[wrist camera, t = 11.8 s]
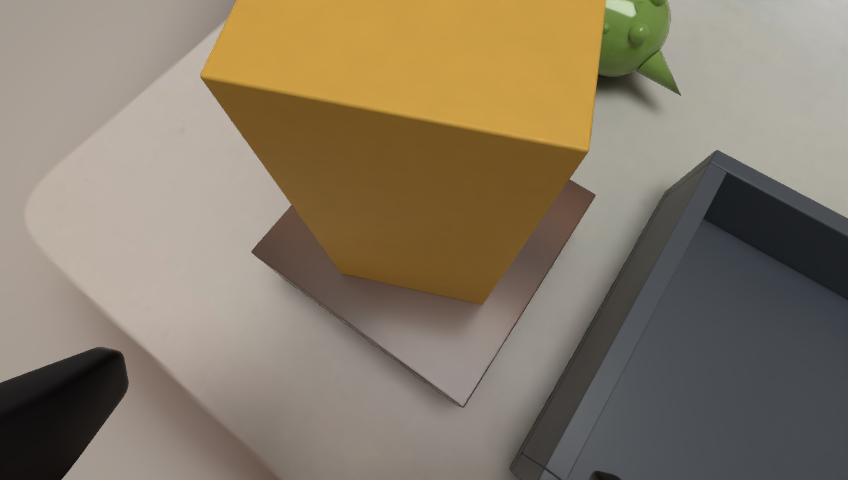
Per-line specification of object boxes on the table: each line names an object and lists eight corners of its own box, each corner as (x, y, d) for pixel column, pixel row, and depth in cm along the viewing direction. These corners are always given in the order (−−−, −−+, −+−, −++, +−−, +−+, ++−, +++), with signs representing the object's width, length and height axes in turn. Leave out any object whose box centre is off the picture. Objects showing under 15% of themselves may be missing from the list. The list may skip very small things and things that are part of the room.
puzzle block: (483, 305, 16) (590, 151, 6) (340, 273, 16) (197, 76, 6) (506, 175, 18) (621, -122, 8) (377, 149, 18) (316, -165, 8)
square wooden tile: (455, 404, 19) (463, 408, 15) (282, 277, 21) (250, 251, 17) (566, 228, 21) (596, 194, 18) (403, 130, 23) (400, 80, 20)
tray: (892, 756, 15) (1057, 884, 11) (508, 468, 18) (532, 490, 14) (989, 372, 19) (1132, 367, 15) (665, 190, 22) (717, 148, 18)
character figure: (537, -172, 20) (793, -91, 19) (531, -94, 25) (732, -24, 24) (433, 60, 22) (662, 156, 20) (447, 91, 27) (630, 170, 25)
